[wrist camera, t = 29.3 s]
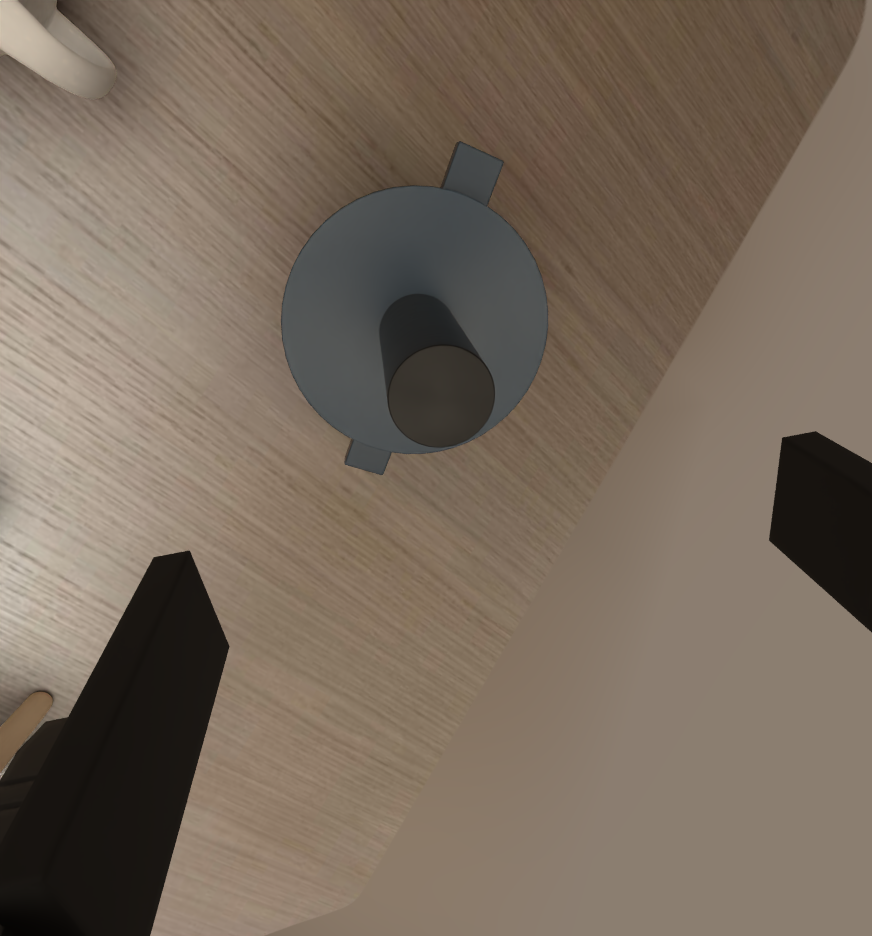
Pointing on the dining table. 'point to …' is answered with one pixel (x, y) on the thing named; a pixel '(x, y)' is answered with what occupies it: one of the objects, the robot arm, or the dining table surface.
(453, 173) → the pot
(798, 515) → the robot arm
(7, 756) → the planter
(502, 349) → the lid
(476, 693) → the dining table surface
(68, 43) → the mug
